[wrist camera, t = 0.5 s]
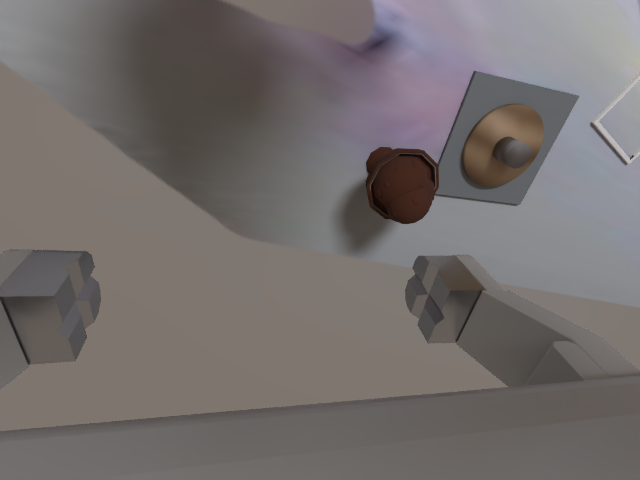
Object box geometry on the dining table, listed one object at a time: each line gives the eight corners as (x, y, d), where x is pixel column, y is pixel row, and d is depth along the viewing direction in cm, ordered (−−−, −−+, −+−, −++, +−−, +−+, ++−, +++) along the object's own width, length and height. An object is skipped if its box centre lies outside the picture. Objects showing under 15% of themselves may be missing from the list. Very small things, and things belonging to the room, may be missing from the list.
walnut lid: (484, 96, 55) (503, 103, 51) (555, 111, 59) (578, 119, 55) (449, 179, 62) (464, 191, 58) (514, 188, 66) (532, 200, 62)
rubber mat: (474, 70, 53) (476, 71, 53) (577, 95, 58) (579, 96, 58) (426, 191, 63) (428, 193, 63) (518, 203, 68) (519, 204, 68)
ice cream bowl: (423, 169, 61) (469, 210, 48) (366, 204, 62) (397, 252, 50) (399, 116, 55) (445, 147, 42) (338, 155, 56) (365, 196, 44)
